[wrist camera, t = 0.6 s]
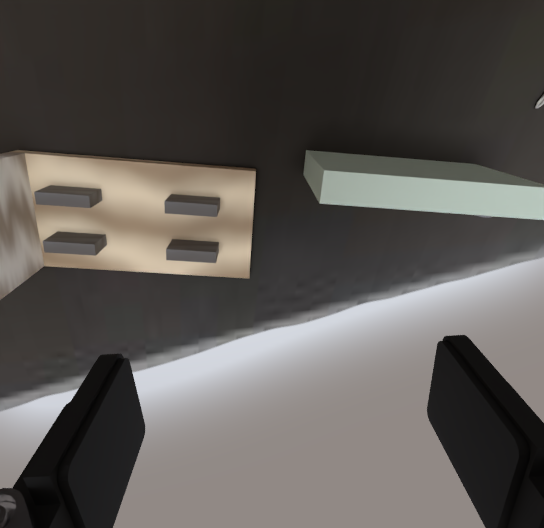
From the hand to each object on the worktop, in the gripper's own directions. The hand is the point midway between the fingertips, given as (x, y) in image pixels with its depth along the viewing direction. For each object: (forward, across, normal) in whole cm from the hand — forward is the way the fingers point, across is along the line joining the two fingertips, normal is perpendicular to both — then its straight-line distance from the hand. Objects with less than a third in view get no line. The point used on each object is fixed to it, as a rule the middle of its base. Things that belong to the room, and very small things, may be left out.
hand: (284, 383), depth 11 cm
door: (+31, -13, -1) cm, 34 cm away
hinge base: (+31, +14, +3) cm, 34 cm away
